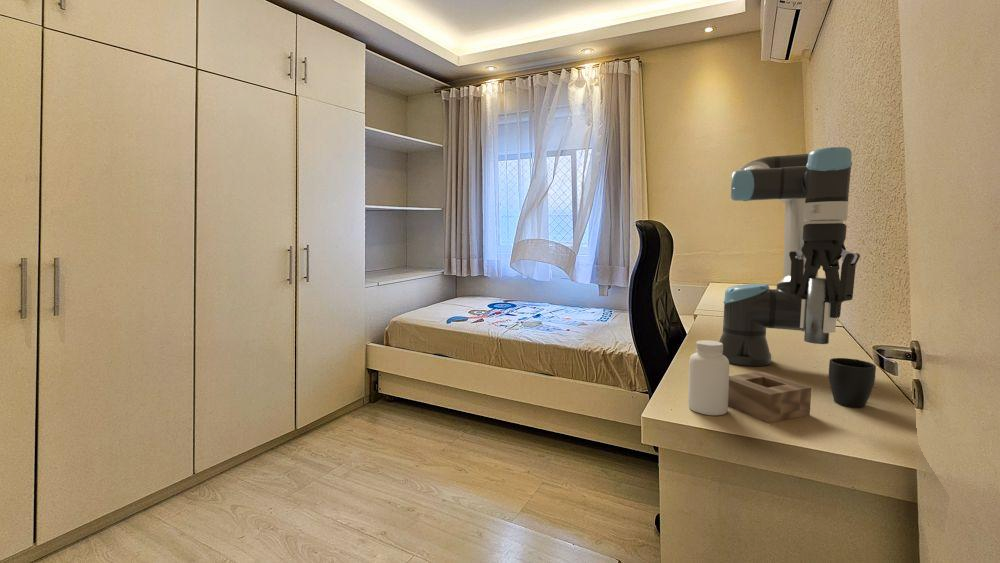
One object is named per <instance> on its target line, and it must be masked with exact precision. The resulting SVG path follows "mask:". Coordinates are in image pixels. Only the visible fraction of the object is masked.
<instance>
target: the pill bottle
mask: <svg viewBox="0 0 1000 563" xmlns="http://www.w3.org/2000/svg"><path fill="white" fill-rule="evenodd" d="M695 351H696V352H693V353H692V354H691V355H690V357H689V362H688V395H687V396H688V397H687V398H688V399H687V401H688V402H687V403H688V404H687V405H688V407H689V409H690V410H692V411H693V412H696V413H698V414H701V415H704V416H705V415H706V416H723V415H725V414H726V413H727V412H728V409H729V406H728V390H729V376H730V363H729V360H728V359H727V357H725V356H724V355H722V353H723V344H722V343H721V342H719V341H717V340H708V339H706V340H703V339H702V340H701V339H700V340H697V341H695Z"/></svg>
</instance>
